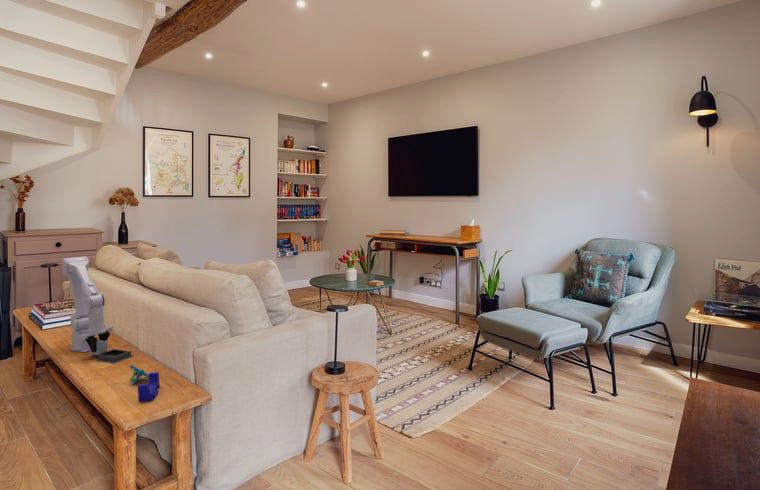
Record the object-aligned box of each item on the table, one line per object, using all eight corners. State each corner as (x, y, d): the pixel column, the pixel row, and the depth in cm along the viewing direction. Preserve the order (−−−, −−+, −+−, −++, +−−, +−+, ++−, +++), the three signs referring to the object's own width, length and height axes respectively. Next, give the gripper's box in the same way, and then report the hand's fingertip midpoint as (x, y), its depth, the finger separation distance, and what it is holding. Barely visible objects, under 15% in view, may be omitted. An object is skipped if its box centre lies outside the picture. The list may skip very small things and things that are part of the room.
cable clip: (152, 401, 158) (151, 385, 158) (138, 402, 158) (137, 386, 157) (163, 386, 170) (162, 371, 169) (151, 387, 170) (150, 372, 169)
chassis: (95, 360, 196) (95, 355, 196) (115, 353, 206) (114, 347, 205) (114, 363, 193) (114, 358, 192) (133, 355, 202) (133, 350, 202)
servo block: (89, 353, 201) (88, 341, 200) (97, 350, 205) (96, 338, 204) (99, 355, 199) (98, 342, 198) (107, 352, 203) (106, 339, 202)
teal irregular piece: (158, 378, 174) (136, 365, 169) (147, 392, 171) (125, 379, 166) (148, 374, 181) (127, 361, 176) (138, 387, 179) (116, 375, 173)
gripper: (87, 326, 192) (90, 356, 194) (117, 317, 206) (119, 345, 207) (75, 324, 194) (78, 354, 196) (105, 316, 208) (107, 344, 210)
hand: (98, 350), depth 202 cm, fingers closed on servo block, 4 cm apart
